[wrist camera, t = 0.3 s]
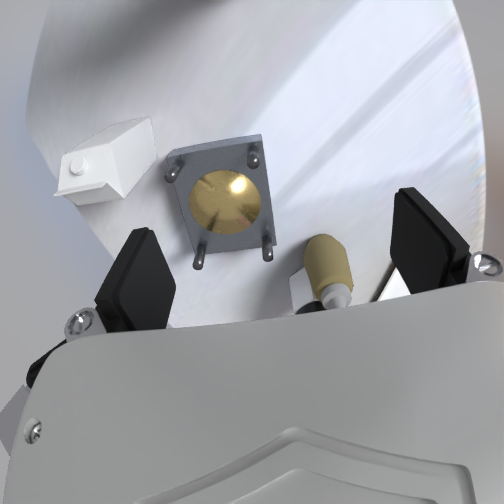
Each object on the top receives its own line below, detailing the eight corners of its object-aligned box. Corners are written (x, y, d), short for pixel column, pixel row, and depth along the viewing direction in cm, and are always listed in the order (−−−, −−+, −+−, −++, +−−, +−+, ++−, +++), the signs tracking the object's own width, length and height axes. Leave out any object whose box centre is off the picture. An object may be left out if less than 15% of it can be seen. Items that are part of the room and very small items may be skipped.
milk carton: (158, 157, 44) (111, 215, 29) (119, 164, 45) (63, 222, 29) (150, 116, 40) (93, 154, 25) (111, 124, 40) (43, 167, 25)
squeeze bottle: (302, 266, 57) (315, 340, 43) (297, 231, 53) (312, 304, 38) (342, 259, 57) (366, 331, 42) (341, 224, 52) (371, 294, 37)
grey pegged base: (172, 149, 44) (156, 169, 36) (261, 134, 42) (263, 150, 35) (198, 242, 54) (191, 274, 47) (275, 232, 53) (278, 264, 46)
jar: (304, 302, 64) (312, 346, 54) (279, 282, 60) (284, 328, 50) (337, 280, 60) (351, 324, 50) (314, 257, 56) (326, 302, 47)
